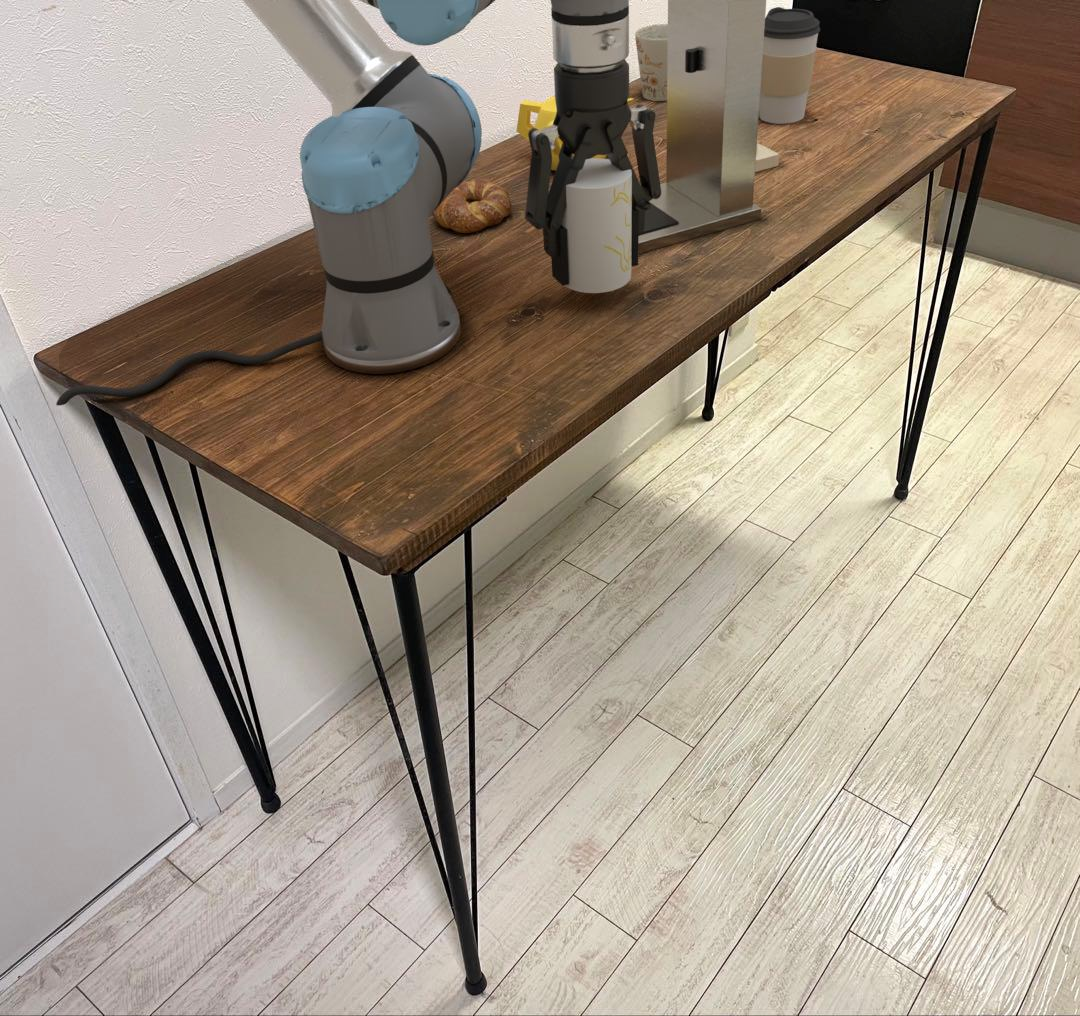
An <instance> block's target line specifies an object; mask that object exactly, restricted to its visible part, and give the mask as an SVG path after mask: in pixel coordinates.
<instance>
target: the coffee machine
mask: <svg viewBox="0 0 1080 1016" xmlns="http://www.w3.org/2000/svg"><path fill="white" fill-rule="evenodd" d="M766 11H767V0H667V24H668V55H667V101H666V160H665V161H666V163H665V165H666V167H665V168H666V170H665V171H666V173H665V175H666V176H665V180H666V181H665V182H662V183H660V186H661V196H660V197H659V198H658V199H652V200H650V201H649V202H650V204H651V205H650V208H649V209H648V210H647V211H645V223H644V224H645V229H644V232H643V233H642V234H639V236H638V255H640V254H643V253H647V252H650V251H653V250H657V249H660V248H665V247H668V246H671V245H674V244H678V243H682V242H685V241H689V240H693V239H695V238H698V237H699V238H700V237H702V236H706V235H709V234H713V233H716V232H720V231H723V230H727V229H730V228H735V227H737V226H740V225H741V226H742V225H744V224H747V223H751V222H755V221H758V220H759V221H760V220H761V218H762V217H761V216H762V207H760V206H758V205H757V204H755V203H754V193H755V192H754V191H755V176H756V172H755V163H756V148H757V141H758V133H759V132H758V131H759V119H760V117H759V103H760V88H761V73H762V58H763V43H764V28H765V18H766V13H767V12H766Z"/></svg>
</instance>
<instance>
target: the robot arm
mask: <svg viewBox="0 0 1080 1016" xmlns="http://www.w3.org/2000/svg"><path fill="white" fill-rule="evenodd" d="M358 1H359V2H361V3H364V4H366V5H367V6H368V5H369V6H371V7H373V8H376V9H378V10H379V12H380V15H381V17H382V19H383V21H384V22H385V24H386V25H387V26H388V27H389V28H390V29H391V31H392V32H393V33H395V35H396V37H398V38H399V39H401V40H403V41H405V42H406V43H408V44H413V45H416V46H421V47H422V46H423V47H424V46H425V47H426V46H432V45H437V44H439V43H441V42H443V41H445V40H446V39H449V38H450V37H452V36H455V35H458V34H459V33H461V32H462V31H463V30H465V28H466V27H467V26H468V25H469V24H470V23H471V21H472V20H473V19H474V18H475V17H476V16H477V15H479V14H480V13H481V12H483V11H484V10H485V9H487V8H488V7H489V6H491V5H492V4H493V3H494V2H496V0H358ZM629 1H630V0H550V5H551V7H550V9H551V10H550V11H551V31H552V33H551V35H552V58H553V60H554V61H555V62H556V64H555V65H554V67H553V81H554V95H555V102H556V108H557V112H556V116H555V119H554V122H553V125H551V126H549V127H546V128H544V129H542V130H538V129H536V128H532V129H531V130H530V131H529V133H528V137H529V141H530V142H529V141H528V142H529V145H530V150H531V154H530V156H531V157H530V164H529V175H528V185H527V192H526V194H527V195H526V204H525V211H524V212H525V214H524V219H525V220H526V221H527V223H529V224H530V225H531V226H533V227H534V229H536V230H542V239H543V250H544V252H545V254H546V255H548V256H549V257H550V258H551V276H552V277H553V278H554V280H556V281H557V282H558V283H559V284H560V285H561V286H562V287H565V285H568V284H569V272H568V246H567V229H566V228H565V227H563V226H562V225H561V222H562V219H563V216H564V213H565V210H566V207H567V201H566V185H568V184H572V183H575V181H576V178H577V175H578V172H579V171H580V170H581V169H582V168H583V166H584V163H585V160H586V159H590V158H592V157H594V156H596V155H607V157H608V159H610V162H611V164H612V165H614V166H615V167H617V168H618V169H620V170H621V171H625V170H629V169H631V171H632V235H631V268H632V267H636V266H639V254H638V236H639V234H642V233H643V232H644V229H645V224H644V223H645V211H647V210H648V209H649V208H650V205H651V204H650V202H649V201H650V200H652V199H658V198H659V197H660V196H661V186H660V184H661V179H660V173H659V167H658V166H659V165H658V159H657V152H656V145H655V138H654V126H655V121H656V113H655V111H654V110H652V109H651V108H649V107H647V106H645V105H643V104H641V103H638V104H637V105H636V106H635V107H630V106H629V103H628V102H627V100H628V98H630V63H628V61H627V60H626V59H628V57H629V54H630V2H629ZM242 2H243V3H244V4H245V5H246V6H247V8H248V9H249V10H250V11H251V13H252V14H254V16H255V17H256V18H257V19H258V20H259V21H260V23H261V24H262V25H263V26H264V27H265V29H266V30H267V31H268V32H269V33H270V35H271V36H272V37H273V38H274V39H275V40H276V41H277V43H278V44H279V45H280V46H281V47H282V48H283V50H284V51H285V52H286V53H287V54H288V55H289V57H290V58H291V59H292V60H293V61H294V63H296V65H297V67H299V68H300V69H301V71H302V72H303V73H304V74H305V75H306V76H307V77H308V79H309V80H310V81H311V82H312V84H314V86H315V87H316V88H317V89H318V90H319V92H320V93H321V94H322V95H323V97H325V98H326V100H327V101H328V102H329V103H330V106H331V116H329V117H327V118H325V119H323V120H321V121H320V122H319V123H317V124H316V125H314V127H312V128H311V129H310V130H309V131H308V133H307V134H306V135H305V137H304V138H303V140H302V142H301V145H300V150H299V161H300V166H301V183H302V187H303V191H304V193H305V195H306V198H307V203H308V208H309V211H310V215H311V220H312V225H313V229H314V232H315V237H316V241H317V245H318V250H319V254H320V255H319V256H320V259H321V264H322V267H323V272H324V276H325V281H326V288H325V290H326V291H325V296H324V306H323V313H322V322H321V331H319V332H316V333H314V334H312V335H308V336H306V337H305V336H304V337H302V338H300V339H297V340H295V341H291V342H290V343H287V344H285V345H282V346H280V347H278V348H276V349H273V350H271V351H269V352H267V353H266V352H265V353H263V354H258V355H242V354H237V353H233V352H229V351H223V350H214V349H213V350H212V349H210V350H203V351H198V352H194V353H191V354H188V355H186V356H184V357H182V358H180V359H179V360H177V361H175V362H173V364H171V365H170V366H169V367H168V368H166V369H165V370H164V371H163V372H162V373H160V374H159V375H157V376H156V377H155V378H153V379H152V380H151V379H150V381H148V382H145V383H142V384H140V385H138V386H137V385H136V386H133V387H109V386H101V385H89V384H87V385H78V386H74V387H72V388H71V387H70V388H69V389H67V390H66V391H64V392H63V393H62V394H61V395H60V396H59V397H58V399H57V400H56V406H59V407H60V406H64V405H66V404H68V402H69V401H70V400H72V399H73V398H74V397H77V396H79V395H98V396H105V397H116V398H117V397H118V398H119V397H120V398H121V397H122V398H126V397H127V398H128V397H135V396H139V395H142V394H145V393H148V392H151V391H152V390H153V391H154V390H155V389H157V388H159V387H160V386H162V385H163V384H165V383H166V382H167V381H168V380H170V379H171V378H173V376H174V375H175V374H177V373H178V372H179V371H181V370H182V369H184V368H185V367H186V366H189V365H190V364H193V363H195V362H199V361H204V360H208V359H209V360H210V359H217V360H223V361H229V362H233V363H236V364H241V365H242V364H243V365H258V364H264V363H268V362H270V361H271V362H272V361H273V360H276V359H278V358H281V357H282V356H284V355H287V354H289V353H291V352H293V351H296V350H299V349H301V348H304V347H307V346H309V345H313V344H315V343H318V342H321V341H322V345H323V348H324V352H325V355H326V357H327V358H328V359H329V360H330V361H331V362H332V363H333V364H335V365H337V366H338V367H340V368H342V369H344V370H348V371H352V372H355V373H359V374H369V375H370V374H372V375H373V374H374V375H383V374H395V373H401V372H406V371H410V370H414V369H417V368H421V367H423V366H426V365H428V364H430V363H433V362H435V361H437V360H439V359H440V358H442V357H443V356H445V355H447V354H448V353H449V352H450V351H451V350H452V349H453V348H454V347H455V346H456V344H457V343H458V341H459V340H460V337H461V334H462V328H461V327H462V326H461V320H460V313H459V311H458V309H457V306H456V304H455V302H454V300H453V298H454V299H456V298H455V295H454V293H453V292H452V289H451V287H450V286H448V285H447V284H446V283H445V282H444V281H443V279H442V277H441V275H440V273H439V271H438V269H437V267H436V263H435V256H434V251H433V243H432V242H433V241H432V236H431V230H430V224H429V223H430V221H429V220H430V216H431V215H432V214H433V212H434V211H435V210H436V208H437V207H438V206H439V205H440V204H441V203H442V202H443V201H444V200H445V198H446V197H447V196H448V195H449V194H450V193H451V192H452V191H453V189H455V188H456V187H457V186H458V185H459V184H460V183H462V182H463V181H466V179H467V178H468V176H469V174H470V172H471V170H472V168H473V166H474V165H475V163H476V161H477V159H478V157H479V155H480V151H481V147H482V135H483V131H482V128H483V127H482V123H481V119H480V115H479V111H478V110H477V107H476V105H475V104H474V103H475V102H473V99H472V98H471V97H470V95H469V94H468V92H467V91H466V90H465V89H464V88H463V87H462V86H461V85H460V84H459V83H457V82H455V81H454V80H452V79H451V78H449V77H446V76H441V75H437V74H434V73H429V72H427V70H426V69H425V68H424V67H423V65H422V64H421V62H420V61H419V60H418V59H417V58H416V57H415V56H414V55H413V54H412V52H411V51H403V50H394V49H392V48H390V47H389V46H388V45H387V44H386V43H385V41H384V40H383V39H382V37H381V36H380V35H379V34H378V33H377V31H376V30H375V29H374V28H373V26H372V25H370V23H369V21H367V19H366V18H365V17H364V16H363V14H362V13H361V12H360V11H359V10H358V9H357V6H355V5H354V4H353V3H352V1H351V0H242ZM628 125H629V126H630V128H631V134H632V140H633V147H634V152H635V159H636V166H637V172H638V177H637V174H636V172H635V169H634V167H633V165H632V163H631V161H630V159H629V156H628V154H629V152H628V150H627V148H626V145H625V143H624V141H623V139H622V136H623V135H624V132H625V131H626V129H627V127H628ZM557 137H559V138H560V140H561V141H562V142H563V144H562V147H561V150H560V153H559V163H558V166H557V169H556V171H555V172H554V175H553V179H552V181H551V174H552V170H551V166H552V152H551V150H554V149H555V140H556V138H557ZM572 153H573V154H574V157H573V155H572ZM638 178H639V179H638ZM550 182H551V183H550ZM550 184H551V185H550Z"/></svg>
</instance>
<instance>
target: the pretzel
mask: <svg viewBox="0 0 1080 1016" xmlns="http://www.w3.org/2000/svg"><path fill="white" fill-rule="evenodd" d="M512 210H513V204H512V201H511V199H510V196H509V192H508V191H507V189H506V188H504V186H501V185H499V184H496V183H494V182H492V181H491V180H490V179H489V180H487V179H484V178H477V179H473V180H471V181H467V180H464V181H463V182H462V183H460V184H459V185H458V186H457V187H456V188H455V189H453V191H452V192H451V193H450V194H449V195H448V196H447V197H446V198H445V200H444V201H443V202H442V203H441V204H440V205H439V206H438V207H437V208H436V210H435V211H434V212H433V213H432V214H433V217H434V220H435V221H436V222H437V223H438V225H440V226H441V227H443V228H446V229H451V230H452V231H454V232H456V233H460V234H469V233H470V234H471V233H475V232H479V231H481V230H483V229H485V228H486V227H492V226H497V225H498V224H500V223H501V222H502V221H503V219H504V218H506V217H508V216H509V215H511V213H512Z"/></svg>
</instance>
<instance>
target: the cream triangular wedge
mask: <svg viewBox="0 0 1080 1016" xmlns="http://www.w3.org/2000/svg"><path fill="white" fill-rule="evenodd" d="M779 165H780V153H779V152H776V151H774V150H772V149H770V148H769V147H766V146H765V145H763V144H761V143H759V141H758V140H757V148H756V163H755V173H758V172H760V171H766V170H768V169H772V168H776V167H779Z"/></svg>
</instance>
